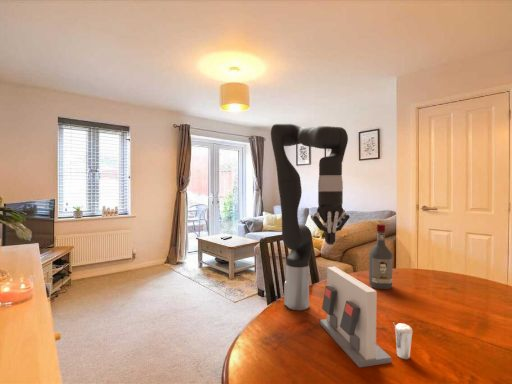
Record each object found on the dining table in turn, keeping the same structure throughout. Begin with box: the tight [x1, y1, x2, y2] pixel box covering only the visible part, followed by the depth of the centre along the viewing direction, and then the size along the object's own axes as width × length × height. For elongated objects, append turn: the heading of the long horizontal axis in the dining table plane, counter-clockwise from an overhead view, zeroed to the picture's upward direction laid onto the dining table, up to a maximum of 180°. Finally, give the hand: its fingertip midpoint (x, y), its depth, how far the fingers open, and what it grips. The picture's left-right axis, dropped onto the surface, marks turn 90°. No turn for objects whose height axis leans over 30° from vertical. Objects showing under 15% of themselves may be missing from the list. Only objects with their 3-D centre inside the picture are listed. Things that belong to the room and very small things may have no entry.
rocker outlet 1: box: [321, 285, 337, 315], centre depth 97 cm, size 2×5×8 cm, turn 13°
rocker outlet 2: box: [340, 301, 360, 336], centre depth 85 cm, size 2×5×8 cm, turn 13°
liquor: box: [368, 223, 393, 290], centre depth 140 cm, size 9×9×30 cm
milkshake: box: [393, 322, 413, 360], centre depth 84 cm, size 4×5×10 cm
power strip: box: [319, 266, 392, 368], centre depth 92 cm, size 10×25×20 cm, turn 12°
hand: (330, 244), depth 92 cm, fingers closed
